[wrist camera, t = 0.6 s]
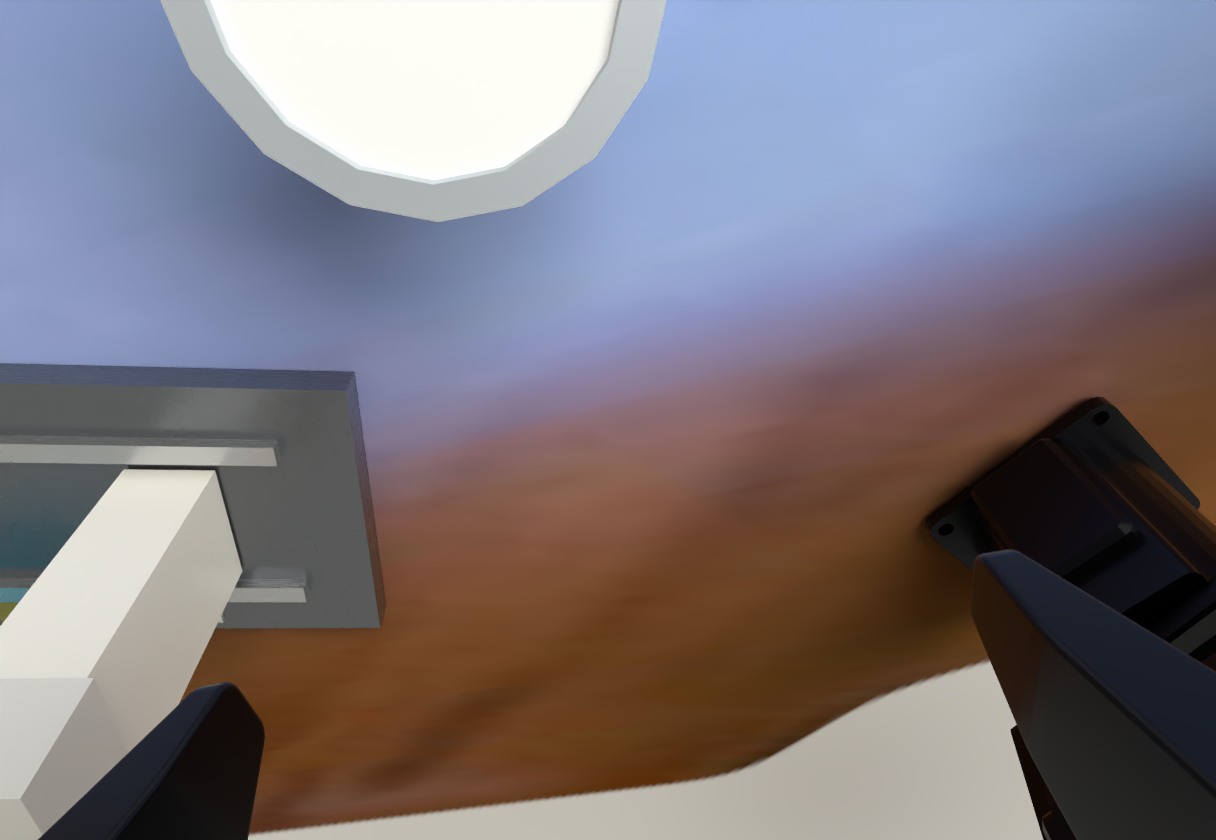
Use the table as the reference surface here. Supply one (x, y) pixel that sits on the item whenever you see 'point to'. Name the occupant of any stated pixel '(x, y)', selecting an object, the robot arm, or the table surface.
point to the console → (201, 440)
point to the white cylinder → (423, 91)
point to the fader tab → (109, 639)
